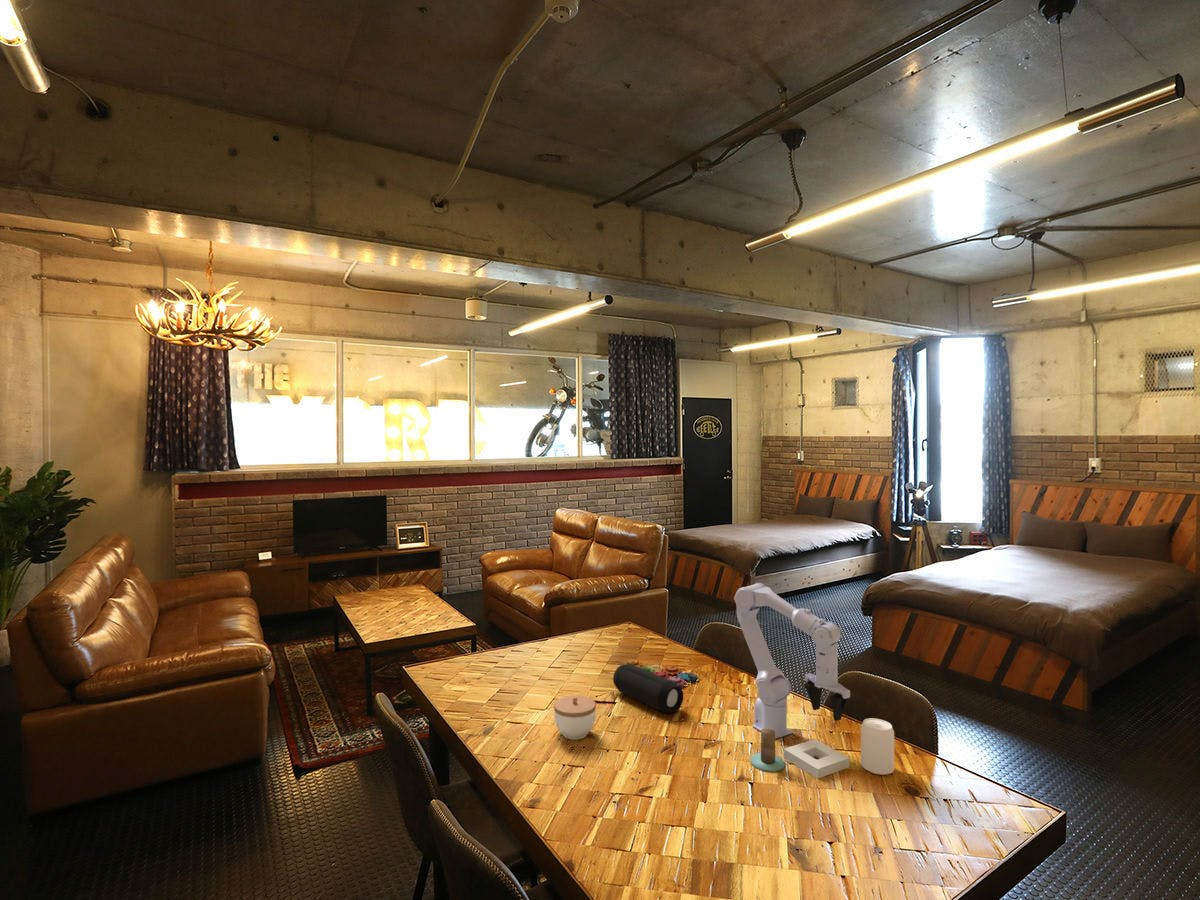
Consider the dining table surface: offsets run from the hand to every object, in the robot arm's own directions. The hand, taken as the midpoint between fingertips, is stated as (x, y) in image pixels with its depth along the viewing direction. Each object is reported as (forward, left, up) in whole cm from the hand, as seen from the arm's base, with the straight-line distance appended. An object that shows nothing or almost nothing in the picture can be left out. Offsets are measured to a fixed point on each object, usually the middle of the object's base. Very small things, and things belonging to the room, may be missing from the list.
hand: (826, 714), depth 174 cm
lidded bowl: (-43, -58, -11) cm, 73 cm away
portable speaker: (-52, -27, -11) cm, 60 cm away
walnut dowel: (-3, -19, -10) cm, 22 cm away
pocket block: (+3, -7, -10) cm, 13 cm away
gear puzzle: (-72, -10, -11) cm, 73 cm away
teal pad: (-3, -19, -10) cm, 22 cm away
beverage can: (+13, +5, -11) cm, 17 cm away
